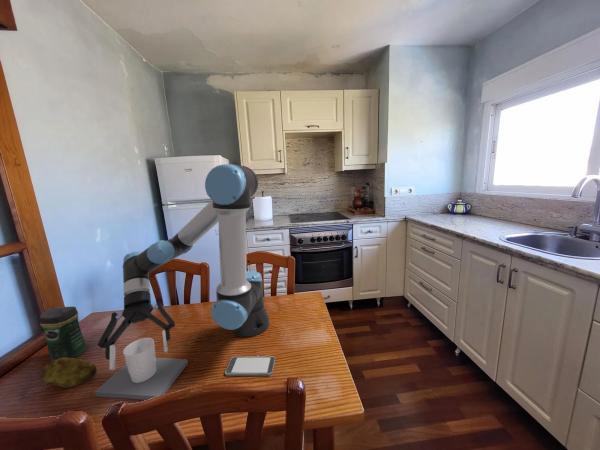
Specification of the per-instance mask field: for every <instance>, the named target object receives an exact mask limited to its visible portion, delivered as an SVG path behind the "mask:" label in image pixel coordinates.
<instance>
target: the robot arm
mask: <svg viewBox="0 0 600 450" xmlns="http://www.w3.org/2000/svg"><path fill="white" fill-rule="evenodd" d="M258 188H259V179H258V176H257V173H256V172H255V171H254V170H253V169H252V168H250V167H249V166H245V165H239V164H238V165H237V164H232V163H231V164H230V163H226V164H223V163H222V164H219V165H216V166H214V167H213V168H211V169H210V171H209V172H208V173H207V175H206V178H205V182H204V189H205V193H206V195H207V196H208V197H209V198H210V201H209V202H208V203H207V204H206V205H205V206H204V207H203V208H202V209H201V210H199V212H198V213H196V215H195V216H194V217H193V218H192V219H190V221H189V222H188V223H186V224H185V225H184V226H183V227H182V228H181V229H180V230H179V231H178V232H176V234H175V235H174V236H172V237H171V238H170V239H167V240H164V239H160V240H158V241H156V242H154V243H152V244H150V245H149V246H148V247H147V248H146V249H144V250H143V251H132V252H130V253H126V255H125V256H124V257H123V263H122V276H123V278H122V279H123V296H124V297H123V311H121V312H115V311H114V312H112V313H111V315H110V321H109V323H108V324H107V326H106V328H105V329H104V332H103V333H102V335H101V337H100V339H99V341H98V343H97V346H98V347H99V348H100V349H104V348H105V352H104V353H105V356H104V357H105V359H106V360H109V370H110V371H115V370H116V346H115V343H116V342H117V341H118V339H119V338H120V337H121V335H122V334H123V333H124V332H125V330H126V329H127V328H128V327H129V326H130V325H131V324H137V323H139V322H144V321H146V320H147V319H148V320H149V321H151V322H152V323H154V324H156V325H157V326H159V327H160V328H161V329H163V330H162V332H161V333H162V339H163V351H164V354H168V353H169V348H168V341H170V340H171V333H170V332H171V331H170V330H171V329H173V328H175V327H176V323H175V321H174V319H173V318H172V317H171V315H169V313H168V312H167V311H166V310H165V309H164V307H163V305H162V304H163V303H162V301H157V303H155V304H152V297H151V286H150V285H151V284H150V273H152V272H153V271H155V270H156V269H158V268H159V267H161V266H163V265H165V264H166V263H168V262H170V261H172V260H174V259H176V258H177V257H180V256H183V255H184V254H187V253H188V252H189V251H191V250H192V249H193V248H194V245H195V244H196V243H197V242H198V241H200V240H201V238H203V236H204V235H206V234H207V233H208V232H209V231H211V229H212V228H214V227H215V226H216V225H217V224H218V243H219V245H218V246H219V247H218V249H219V250H218V251H219V271H220V272H219V276H220V283H219V284H217V286H216V288H215V290H216V291H215V293H216V301H215V302H214V303H213V304H212V307H211V309H210V310H211V311H210V315H211V318H212V320H213V322H214V323H215V324H216V325H218V326H219V327H221V328H222V329H225V330H230V331H231V330H232V331H233V334H235V335H237V336H239V337H244V338H245V337H246V338H247V337H248V338H249V337H254V336H257V335H260V334H262V333H264V332H265V331H266V330H267V329H268V328H269V326H270V323H271V322H270V315H269V314H268V312H267V310H266V308H265V302H264V288H263V278H262V274H261V273H260V272H258V271H255V270H254V271H252V270H247V227H246V226H247V217H246V216H247V215H246V213H247V212H248V211H249V210H250V209H251V197H253V196H254V195H255V194H256V192H257V190H258ZM153 309H155V310H156V311H159V313H160V314H161V315H162V317H163V318H164V319H165V321H166V322H167V323H168V324H166V323H165V322H164V321H162V320H161V319H159V318H158V317H156V315H154V314H152V311H153ZM122 317H123V318H124V319H123V320H122V321H121V323H120V325H119V326H118V327H117V329H116V330H115V328H116V326H117V324H118V321H119V320H120V319H121V318H122ZM114 330H115V331H114ZM113 331H114V332H113ZM112 333H113V334H112Z"/></svg>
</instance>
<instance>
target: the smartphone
mask: <svg viewBox="0 0 600 450" xmlns="http://www.w3.org/2000/svg"><path fill="white" fill-rule="evenodd" d="M275 362H276V357H275V356H232V357H231V358H230V360H229V363H228V365H227V367H226V369H225V371H224V375H225V376H226V377H236V376H237V377H271V376H273V373H274V368H275V364H276V363H275Z"/></svg>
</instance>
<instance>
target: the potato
mask: <svg viewBox="0 0 600 450" xmlns="http://www.w3.org/2000/svg"><path fill="white" fill-rule="evenodd" d="M96 373H97V366H96V365H95V363H93V362H91V361H87V360H84V359H80V358H78V357H76V358H67V357H62V358H58V359H55V360H52V361H51V360H50V362H48V363H46V365H44V366H43V368H42V369H41V371H40V376H41V377H40V378H41V379H42V381H43V382H45V384H47V385H51V386H59V387H61V388H71V387H75V386H78V385H81V384H83V383H85V382H87V381H89V380H90V379H91V378H93V377H94V376H95V374H96Z"/></svg>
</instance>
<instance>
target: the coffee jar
mask: <svg viewBox="0 0 600 450" xmlns="http://www.w3.org/2000/svg"><path fill="white" fill-rule="evenodd" d="M38 318H39V325H40V327H41V329H42V330H43V333H44V337H45V341H46V346H47V352H48V355H49V356H48V357H49V360H50V362H51V361H52V360H55V359H58V358H62V357H67V358H78V357H79V356H81V355H82V354H83V353H84V352H85V351H86V350H87V344H86V342H85V337H84V335H83V333H82V329H81V326H80V322H79V311H78V310H77V306H58V307H54V306H53V307H50V308H49V309H46V310H44V311H43V312H41V313H40V315H39V317H38Z"/></svg>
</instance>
